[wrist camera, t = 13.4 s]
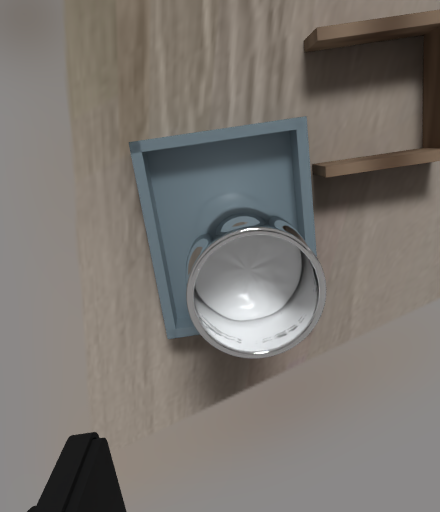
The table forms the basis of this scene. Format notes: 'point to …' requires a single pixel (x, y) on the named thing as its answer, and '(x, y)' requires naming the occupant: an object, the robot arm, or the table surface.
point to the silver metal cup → (251, 279)
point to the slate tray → (216, 193)
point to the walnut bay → (434, 83)
